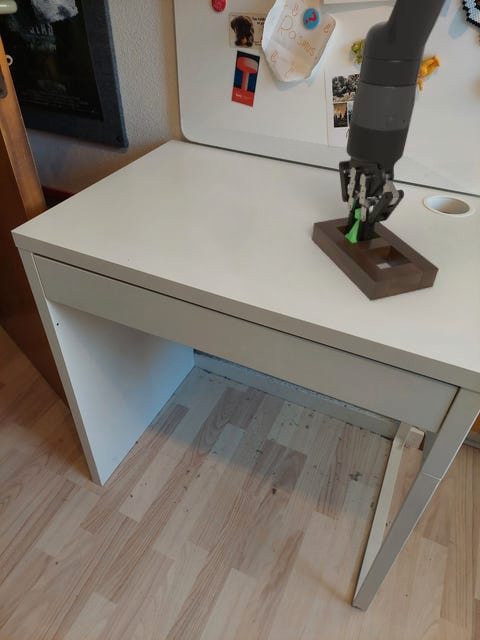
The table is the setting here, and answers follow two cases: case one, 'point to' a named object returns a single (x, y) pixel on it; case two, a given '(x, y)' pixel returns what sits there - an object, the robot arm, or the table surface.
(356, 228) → the game piece
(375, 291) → the socket pad
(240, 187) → the table surface
